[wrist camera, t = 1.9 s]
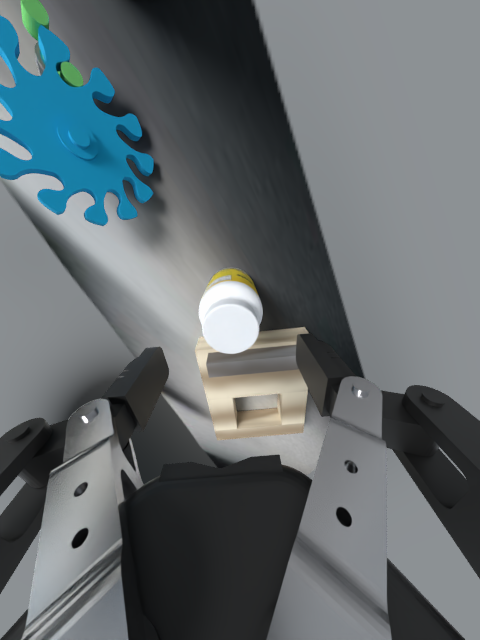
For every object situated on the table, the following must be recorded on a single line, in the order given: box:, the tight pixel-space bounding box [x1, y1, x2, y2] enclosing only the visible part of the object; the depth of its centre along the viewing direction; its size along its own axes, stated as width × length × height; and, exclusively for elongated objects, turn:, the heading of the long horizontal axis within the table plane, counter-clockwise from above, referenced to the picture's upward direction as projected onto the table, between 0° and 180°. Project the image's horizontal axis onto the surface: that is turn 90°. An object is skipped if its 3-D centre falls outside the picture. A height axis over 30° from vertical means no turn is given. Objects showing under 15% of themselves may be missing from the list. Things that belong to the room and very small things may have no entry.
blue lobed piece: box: [0, 0, 154, 226], centre depth 13 cm, size 11×6×10 cm
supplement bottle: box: [199, 268, 263, 354], centre depth 17 cm, size 5×5×10 cm
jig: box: [195, 327, 308, 440], centre depth 26 cm, size 18×14×5 cm
